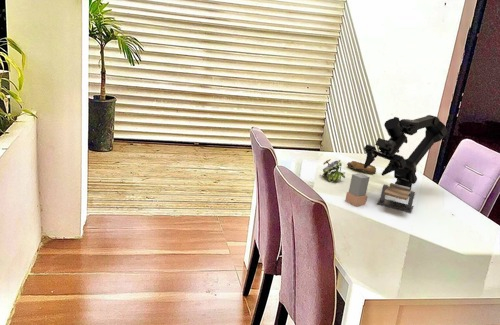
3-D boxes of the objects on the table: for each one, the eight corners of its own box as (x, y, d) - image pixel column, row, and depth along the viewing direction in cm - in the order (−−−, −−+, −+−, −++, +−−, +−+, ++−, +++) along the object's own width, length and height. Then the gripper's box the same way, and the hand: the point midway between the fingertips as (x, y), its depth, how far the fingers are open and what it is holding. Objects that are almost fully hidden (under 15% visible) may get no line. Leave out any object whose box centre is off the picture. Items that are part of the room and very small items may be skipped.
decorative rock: (345, 171, 238) (375, 178, 236) (347, 164, 237) (377, 170, 234) (346, 164, 249) (374, 170, 246) (348, 157, 247) (376, 163, 245)
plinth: (354, 199, 198) (356, 190, 197) (365, 204, 194) (367, 195, 193) (345, 201, 195) (346, 192, 194) (356, 206, 190) (358, 197, 189)
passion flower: (322, 187, 225) (324, 163, 229) (346, 187, 222) (346, 164, 226) (320, 180, 215) (321, 155, 219) (344, 180, 212) (345, 155, 216)
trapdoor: (388, 187, 199) (389, 182, 198) (410, 193, 195) (411, 188, 195) (383, 196, 188) (384, 190, 187) (406, 202, 184) (407, 196, 184)
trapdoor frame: (379, 199, 202) (383, 182, 200) (413, 208, 197) (417, 190, 195) (376, 204, 196) (380, 186, 194) (411, 213, 191) (415, 195, 189)
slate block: (356, 190, 197) (360, 173, 194) (365, 195, 193) (369, 177, 191) (348, 192, 194) (352, 174, 191) (357, 196, 190) (361, 178, 188)
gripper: (370, 126, 200) (349, 153, 197) (408, 137, 186) (385, 167, 183) (378, 142, 207) (358, 168, 204) (415, 154, 194) (393, 183, 190)
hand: (373, 171), depth 195 cm, fingers open, 9 cm apart
